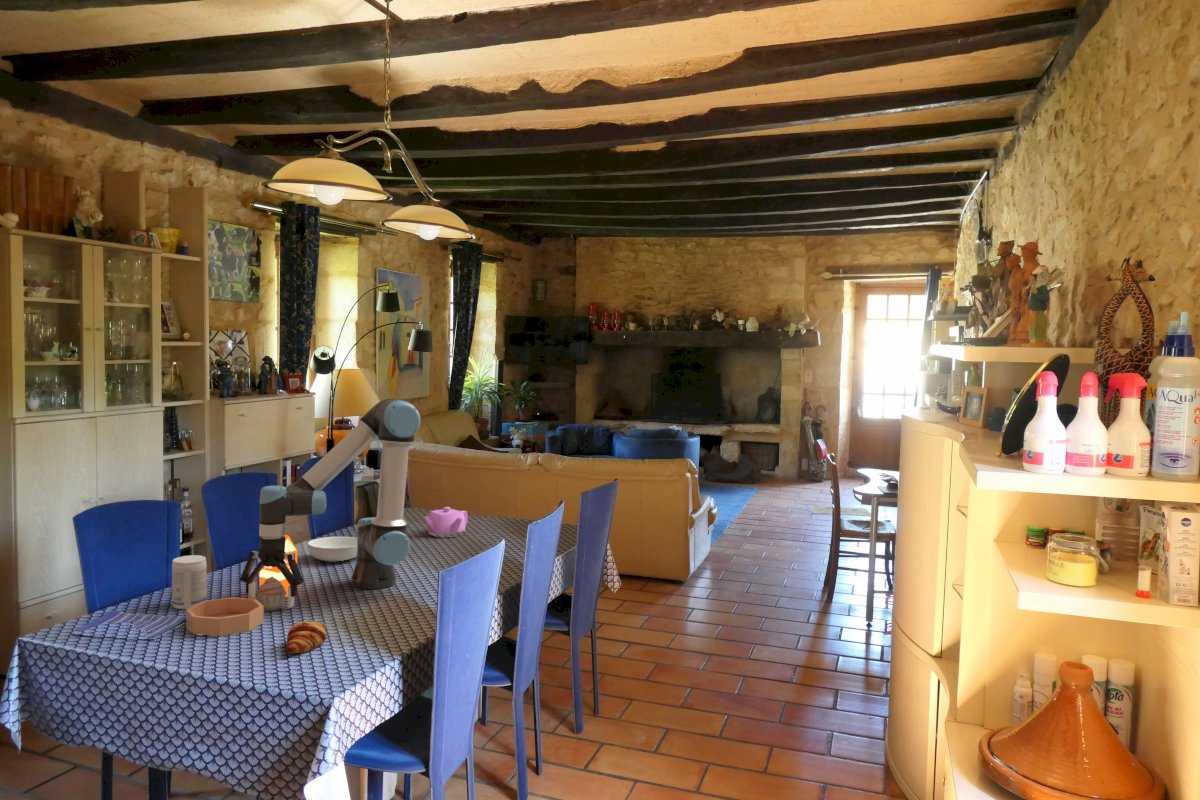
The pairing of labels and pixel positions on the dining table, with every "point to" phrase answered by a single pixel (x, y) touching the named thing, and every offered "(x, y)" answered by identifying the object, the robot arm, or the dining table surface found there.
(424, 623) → the dining table surface
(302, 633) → the croissant
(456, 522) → the teakettle
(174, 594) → the supplement tub
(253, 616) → the bowl
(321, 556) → the serving bowl
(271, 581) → the cupcake
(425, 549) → the dining table surface
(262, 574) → the orange juice
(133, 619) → the dish towel
